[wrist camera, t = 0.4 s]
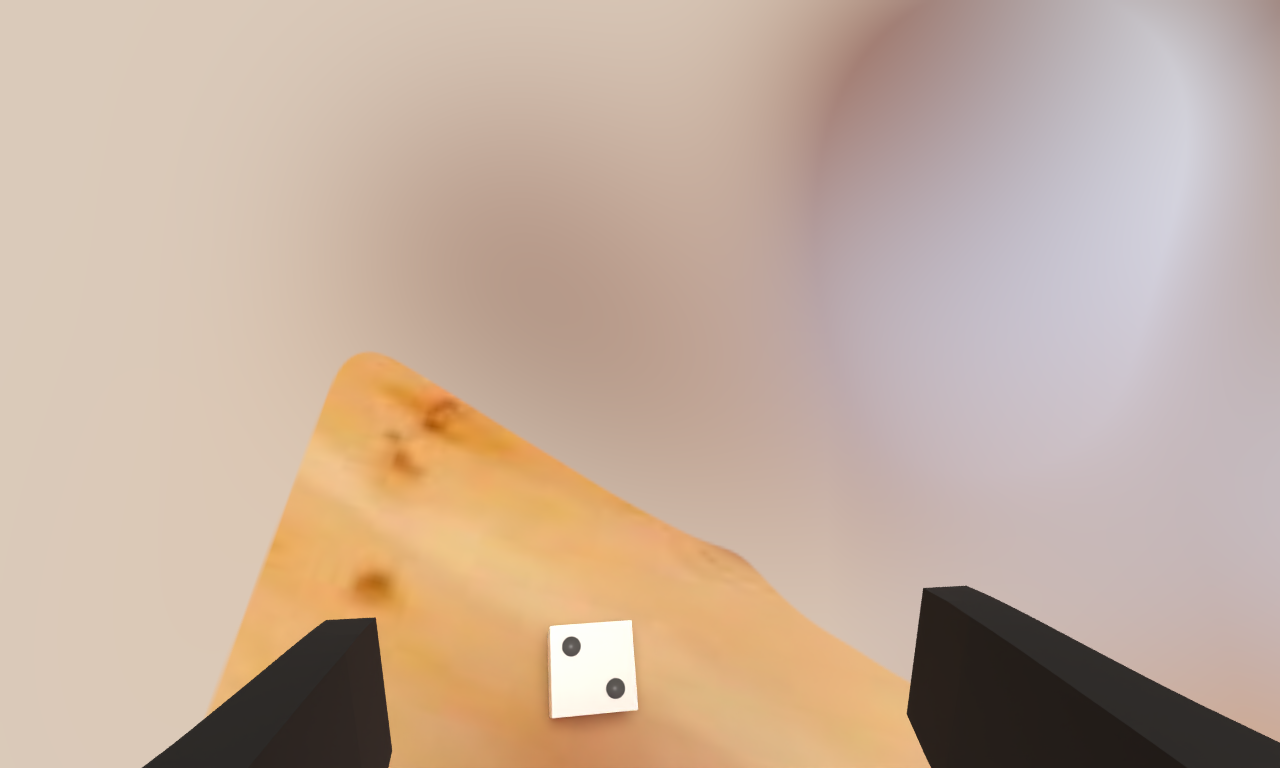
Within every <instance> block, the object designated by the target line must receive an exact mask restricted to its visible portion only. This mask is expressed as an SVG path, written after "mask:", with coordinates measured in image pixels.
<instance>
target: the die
mask: <svg viewBox="0 0 1280 768" xmlns="http://www.w3.org/2000/svg"><path fill="white" fill-rule="evenodd" d="M547 640H548V683H549V718H561V717H571V716H581V715H591V714H602V713H612V712H622V711H632V710H638V701H637V688H636V675H635V662H634V648H633V635H632V622H631V620H626V621H612V622H598V623H585V624H571V625H557V626H550V627H549V631H548V634H547Z"/></svg>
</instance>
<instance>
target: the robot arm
mask: <svg viewBox="0 0 1280 768" xmlns="http://www.w3.org/2000/svg"><path fill="white" fill-rule="evenodd" d="M907 716H908V718H909V720H910V722H911V725H912V727H913V729H914V731H915V734H916V736H917V738H918V740H919V743H920V745H921V747H922V749H923V752H924V754H925V756H926V758H927V760H928V762H929V764H930V766H931V768H1280V743H1279V742H1277V741H1275V740H1273V739H1271V738H1269V737H1267V736H1265V735H1262V734H1261V733H1258V732H1256V731H1254V730H1252V729H1250V728H1248V727H1246V726H1244V725H1241V724H1240V723H1238V722H1236V721H1233V720H1231V719H1229V718H1227V717H1225V716H1223V715H1221V714H1219V713H1217V712H1215V711H1212V710H1211V709H1208V708H1206V707H1204V706H1202V705H1200V704H1198V703H1196V702H1194V701H1192V700H1190V699H1188V698H1186V697H1184V696H1182V695H1180V694H1178V693H1176V692H1174V691H1172V690H1170V689H1168V688H1166V687H1164V686H1162V685H1160V684H1158V683H1156V682H1155V681H1152V680H1151V679H1148V678H1146V677H1145V676H1143V675H1141V674H1139V673H1137V672H1135V671H1133V670H1131V669H1129V668H1127V667H1126V666H1124V665H1122V664H1120V663H1118V662H1116V661H1114V660H1112V659H1110V658H1108V657H1106V656H1104V655H1103V654H1101V653H1099V652H1097V651H1095V650H1093V649H1091V648H1089V647H1087V646H1085V645H1084V644H1082V643H1080V642H1078V641H1076V640H1074V639H1072V638H1070V637H1069V636H1067V635H1065V634H1063V633H1060V632H1059V631H1057V630H1055V629H1053V628H1051V627H1049V626H1048V625H1046V624H1044V623H1042V622H1040V621H1038V620H1036V619H1034V618H1032V617H1030V616H1029V615H1027V614H1025V613H1022V612H1021V611H1019V610H1017V609H1015V608H1013V607H1011V606H1009V605H1007V604H1005V603H1003V602H1001V601H999V600H997V599H995V598H993V597H991V596H988V595H986V594H984V593H982V592H979V591H977V590H975V589H973V588H970V587H968V586H954V587H935V588H923V594H922V601H921V609H920V617H919V624H918V632H917V639H916V648H915V656H914V663H913V670H912V678H911V685H910V693H909V701H908V708H907ZM391 753H392V745H391V737H390V729H389V721H388V713H387V705H386V697H385V689H384V681H383V672H382V664H381V656H380V648H379V640H378V632H377V624H376V618H358V619H340V620H326V621H324V622H323V623H322V624H320V625H319V626H317V627H316V628H315V629H313V630H312V631H311V632H310V633H308V634H307V635H306V636H305V637H303V638H302V639H301V640H300V641H298V642H297V643H296V644H295V645H294V646H292V647H291V648H290V649H289V650H287V651H286V652H285V653H284V654H283V655H281V656H280V657H279V658H278V659H277V660H275V661H274V662H273V663H272V664H271V665H269V666H268V667H267V668H266V669H265V670H263V671H262V672H261V673H260V674H259V675H257V676H256V677H255V678H254V679H253V680H251V681H250V682H249V683H248V684H247V685H245V686H244V687H243V688H242V689H240V690H239V691H238V692H237V693H236V694H234V695H233V696H232V697H231V698H229V699H228V700H227V701H226V702H224V703H223V704H222V705H221V706H220V707H218V708H217V709H216V710H215V711H213V712H212V713H211V714H210V715H209V716H207V717H206V718H205V719H204V720H202V721H201V722H200V723H199V724H197V725H196V726H195V727H194V728H193V729H191V730H190V731H189V732H188V733H186V734H185V735H184V736H183V737H181V738H180V739H179V740H178V741H176V742H175V743H174V744H173V745H171V746H170V747H169V748H167V749H166V750H165V751H164V752H162V753H161V754H159V755H158V756H157V757H156V758H154V759H153V760H152V761H150V762H149V763H148V764H146V765H145V766H144V767H142V768H388V767H389V762H390V758H391Z"/></svg>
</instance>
